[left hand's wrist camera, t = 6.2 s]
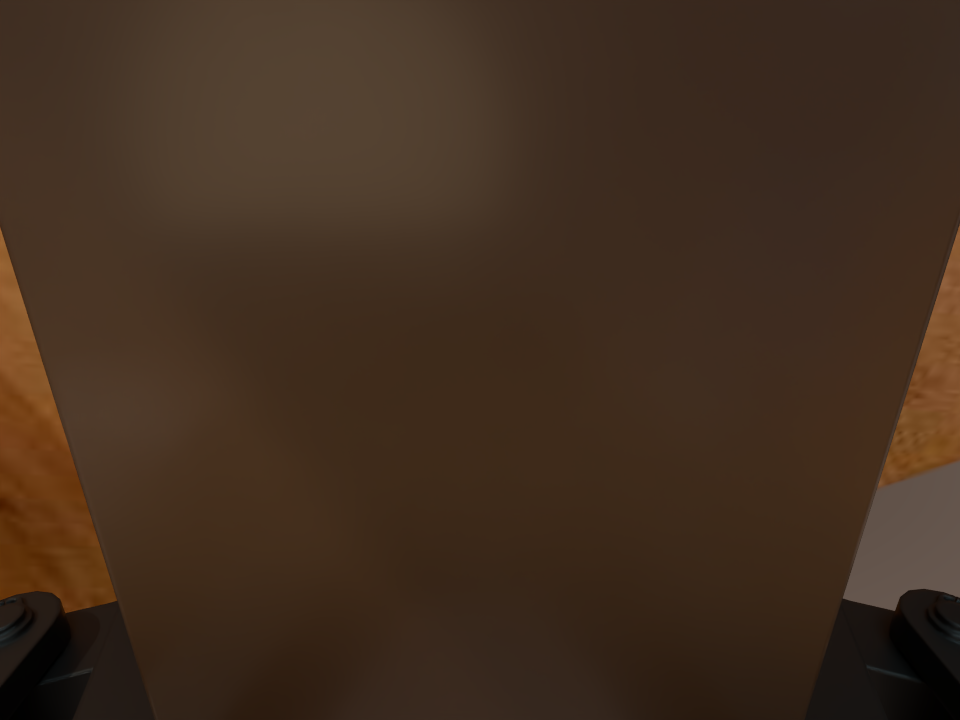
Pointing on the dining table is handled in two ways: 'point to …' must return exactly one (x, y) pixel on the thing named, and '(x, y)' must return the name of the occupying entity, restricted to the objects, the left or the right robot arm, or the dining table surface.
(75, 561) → the dining table surface
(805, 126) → the box
